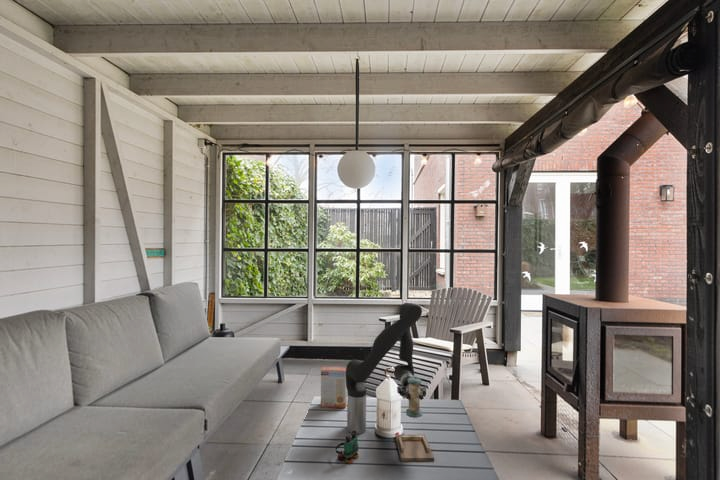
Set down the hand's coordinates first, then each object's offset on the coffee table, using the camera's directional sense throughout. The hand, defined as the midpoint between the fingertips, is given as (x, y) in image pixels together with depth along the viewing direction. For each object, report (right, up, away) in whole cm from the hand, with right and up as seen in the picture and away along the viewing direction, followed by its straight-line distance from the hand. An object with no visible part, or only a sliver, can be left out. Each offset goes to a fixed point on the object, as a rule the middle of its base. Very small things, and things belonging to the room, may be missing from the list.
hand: (415, 397), depth 172 cm
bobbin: (0, -8, +3) cm, 9 cm away
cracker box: (-39, -24, +47) cm, 66 cm away
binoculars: (-30, -23, -6) cm, 39 cm away
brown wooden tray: (0, -24, +2) cm, 24 cm away
